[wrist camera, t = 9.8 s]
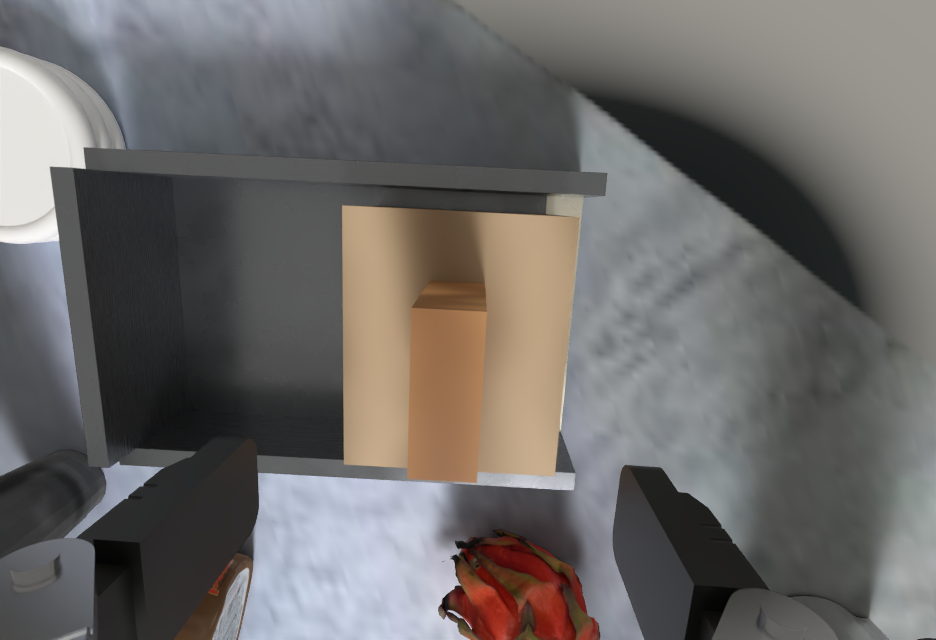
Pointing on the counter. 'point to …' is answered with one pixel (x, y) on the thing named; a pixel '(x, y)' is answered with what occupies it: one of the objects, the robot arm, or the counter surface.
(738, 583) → the robot arm
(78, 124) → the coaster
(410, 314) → the wooden block with upright
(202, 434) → the bay
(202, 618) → the tin
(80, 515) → the beverage cup
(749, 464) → the counter surface
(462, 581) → the dragon fruit
